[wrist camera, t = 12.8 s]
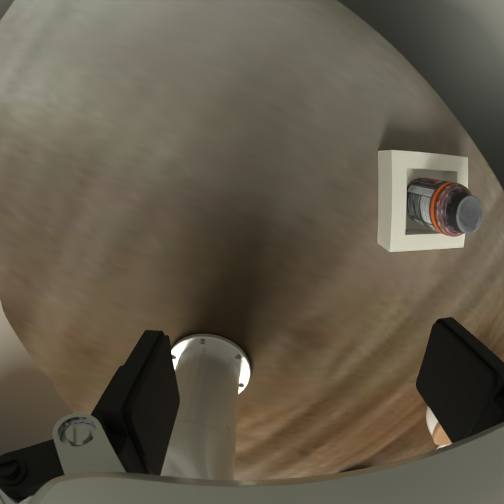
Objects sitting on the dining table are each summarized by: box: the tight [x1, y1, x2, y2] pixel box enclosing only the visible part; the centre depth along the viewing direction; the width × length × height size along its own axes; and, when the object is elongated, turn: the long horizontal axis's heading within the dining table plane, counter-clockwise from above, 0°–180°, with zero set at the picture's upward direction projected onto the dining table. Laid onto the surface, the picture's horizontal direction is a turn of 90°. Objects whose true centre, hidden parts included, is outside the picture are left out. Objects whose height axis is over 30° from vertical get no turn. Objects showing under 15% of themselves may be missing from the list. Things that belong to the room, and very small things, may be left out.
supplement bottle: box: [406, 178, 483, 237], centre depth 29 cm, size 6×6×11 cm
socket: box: [377, 150, 468, 252], centre depth 34 cm, size 12×12×4 cm
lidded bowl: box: [426, 407, 452, 446], centre depth 41 cm, size 13×13×11 cm
